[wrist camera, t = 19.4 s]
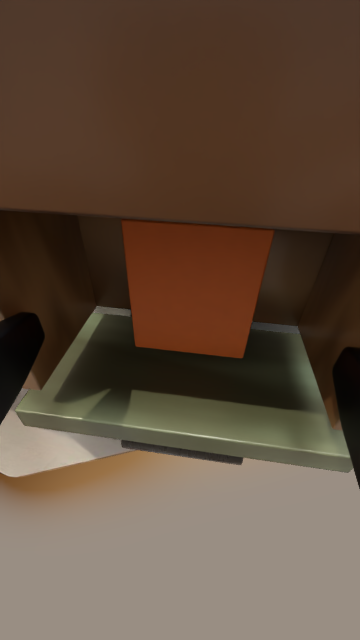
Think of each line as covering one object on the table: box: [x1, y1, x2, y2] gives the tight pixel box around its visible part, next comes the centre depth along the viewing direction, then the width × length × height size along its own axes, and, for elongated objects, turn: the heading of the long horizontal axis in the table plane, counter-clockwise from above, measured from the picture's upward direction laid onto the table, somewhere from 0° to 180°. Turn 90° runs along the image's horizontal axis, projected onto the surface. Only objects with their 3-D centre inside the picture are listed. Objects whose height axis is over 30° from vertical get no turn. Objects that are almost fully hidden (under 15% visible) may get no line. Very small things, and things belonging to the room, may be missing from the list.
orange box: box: [121, 219, 275, 358], centre depth 11 cm, size 5×7×3 cm
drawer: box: [0, 210, 360, 473], centre depth 11 cm, size 20×13×7 cm
